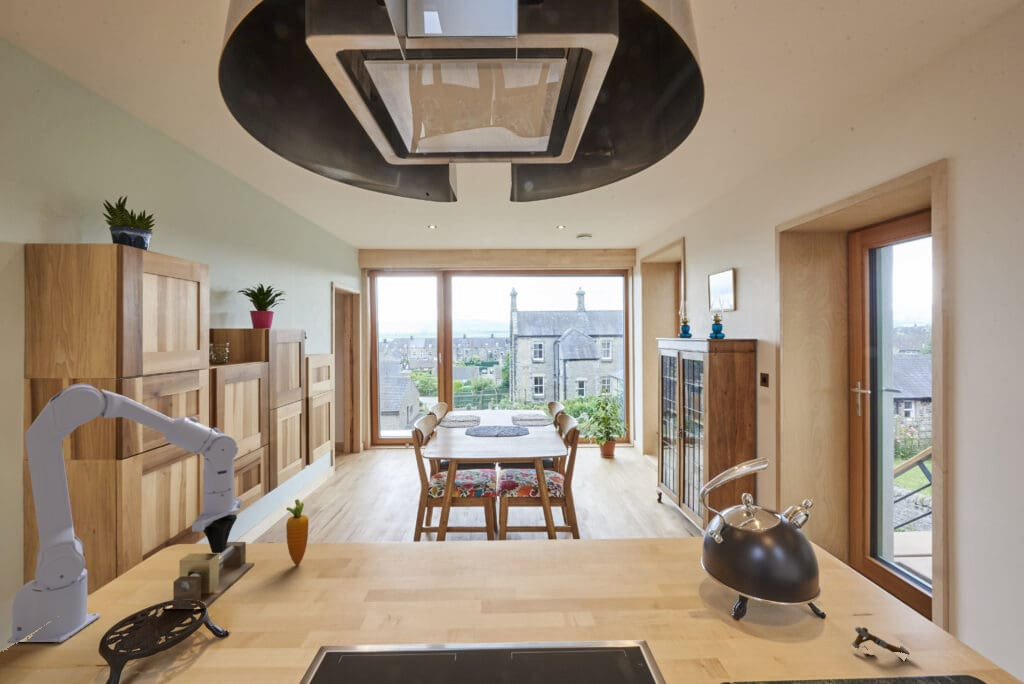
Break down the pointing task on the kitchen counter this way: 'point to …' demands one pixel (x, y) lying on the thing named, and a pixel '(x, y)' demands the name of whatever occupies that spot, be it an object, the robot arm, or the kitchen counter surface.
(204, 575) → the brushed brass square block
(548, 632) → the kitchen counter surface
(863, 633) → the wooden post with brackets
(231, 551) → the pipe
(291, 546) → the carrot
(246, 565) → the slider rail
